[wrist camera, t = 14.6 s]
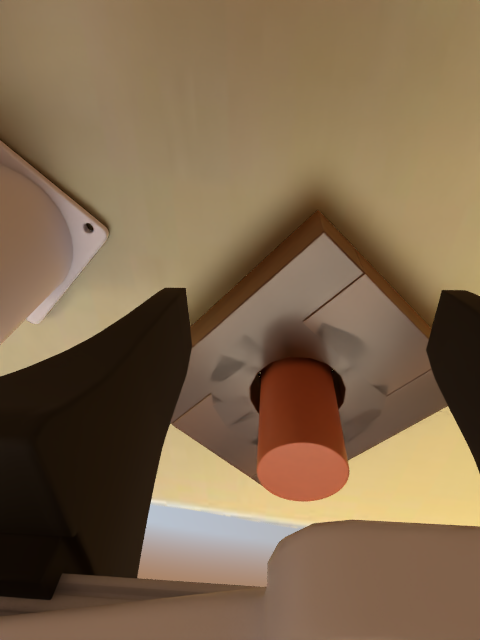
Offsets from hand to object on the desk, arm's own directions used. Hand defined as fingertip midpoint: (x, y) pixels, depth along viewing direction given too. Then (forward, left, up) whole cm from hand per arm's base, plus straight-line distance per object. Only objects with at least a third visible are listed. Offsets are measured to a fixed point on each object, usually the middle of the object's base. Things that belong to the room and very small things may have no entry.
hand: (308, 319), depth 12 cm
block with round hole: (+7, -6, -9) cm, 13 cm away
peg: (+7, -6, -9) cm, 13 cm away
